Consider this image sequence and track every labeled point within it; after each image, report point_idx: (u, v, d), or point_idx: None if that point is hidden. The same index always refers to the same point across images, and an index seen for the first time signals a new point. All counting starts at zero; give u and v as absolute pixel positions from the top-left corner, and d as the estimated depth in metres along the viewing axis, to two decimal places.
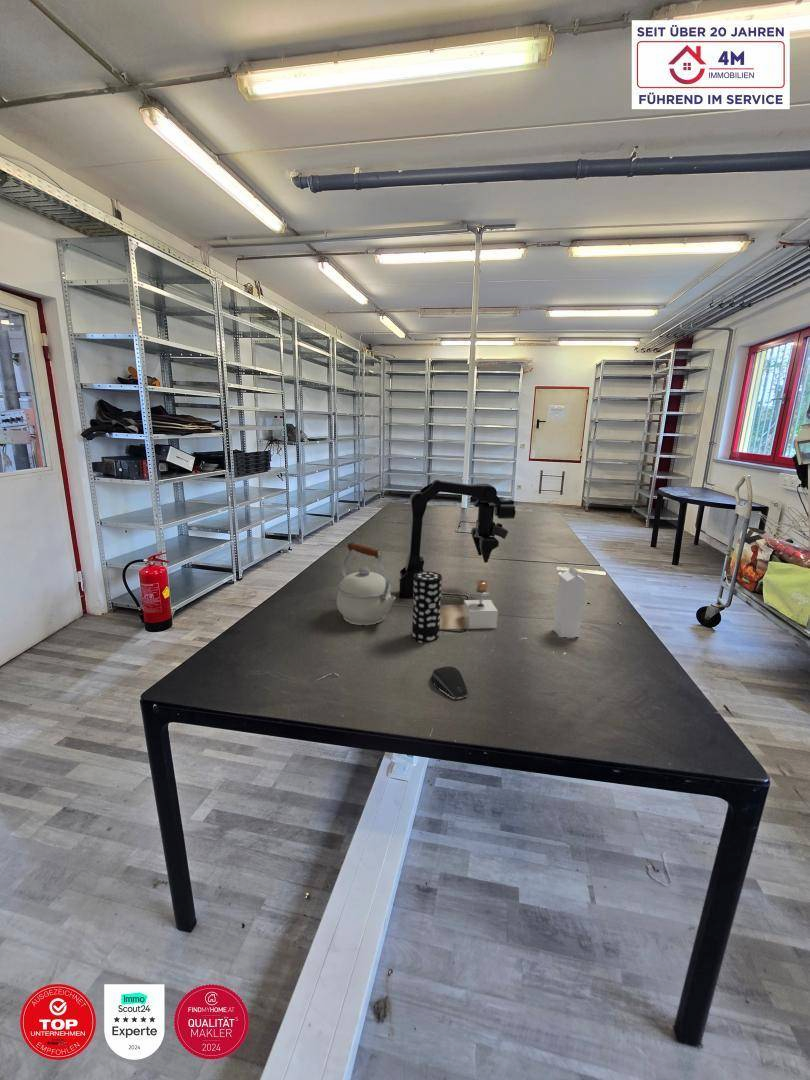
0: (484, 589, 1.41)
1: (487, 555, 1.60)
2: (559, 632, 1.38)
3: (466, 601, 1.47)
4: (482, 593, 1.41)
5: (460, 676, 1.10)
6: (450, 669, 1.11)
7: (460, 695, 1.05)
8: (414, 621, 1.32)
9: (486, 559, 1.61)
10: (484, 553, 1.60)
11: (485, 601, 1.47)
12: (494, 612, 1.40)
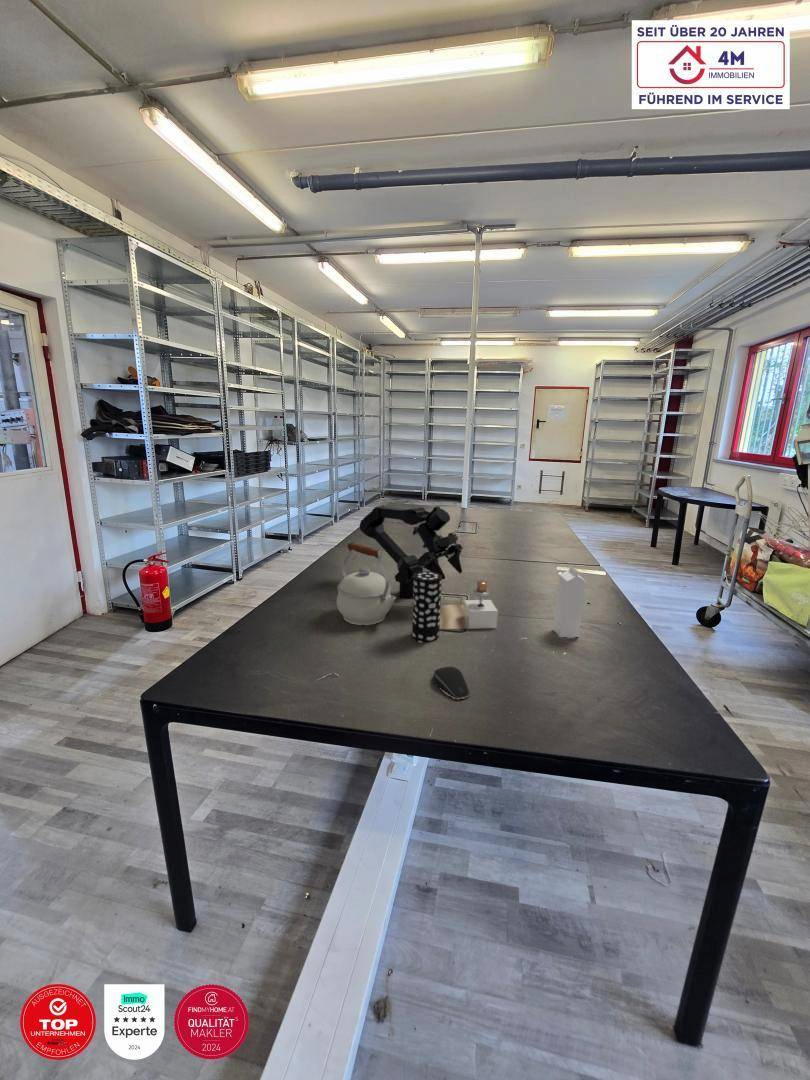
0: (484, 589, 1.41)
1: (438, 571, 1.48)
2: (559, 632, 1.38)
3: (466, 601, 1.47)
4: (482, 593, 1.41)
5: (461, 676, 1.10)
6: (451, 669, 1.11)
7: (461, 695, 1.05)
8: (414, 621, 1.32)
9: None
10: (434, 570, 1.49)
11: (485, 601, 1.47)
12: (494, 612, 1.40)
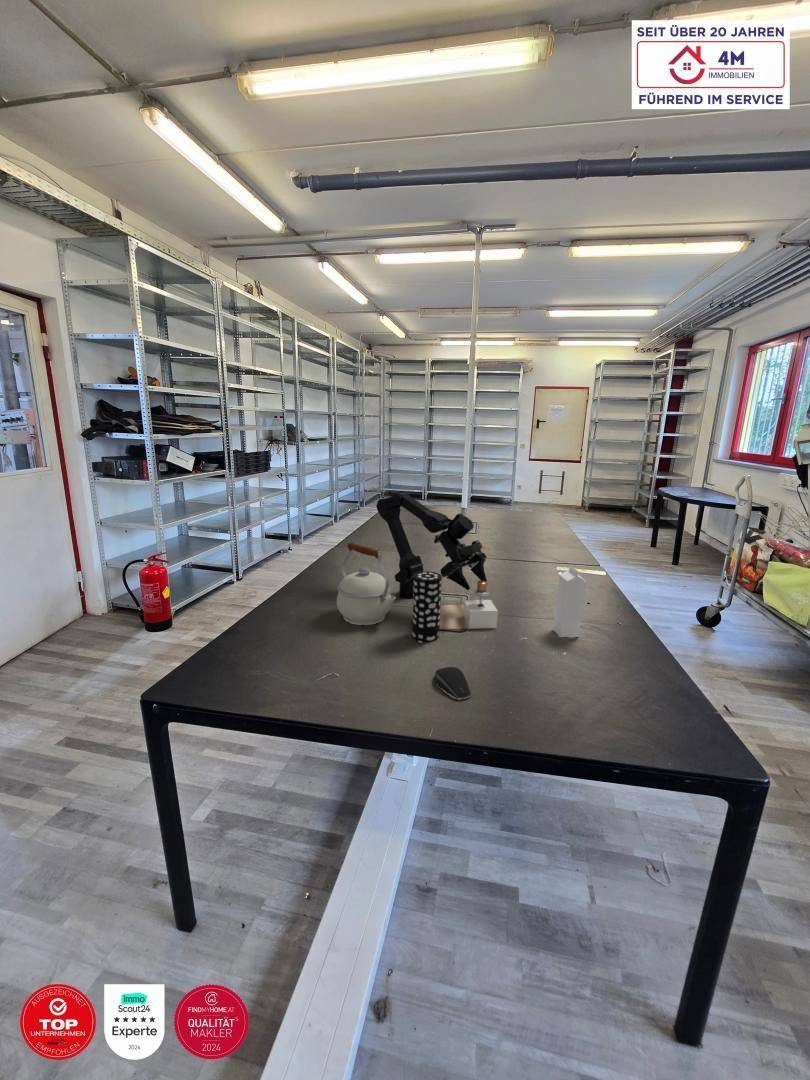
0: (484, 589, 1.41)
1: (462, 581, 1.41)
2: (559, 632, 1.38)
3: (466, 601, 1.47)
4: (482, 593, 1.41)
5: (463, 677, 1.10)
6: (452, 670, 1.11)
7: (463, 696, 1.05)
8: (414, 621, 1.32)
9: (465, 586, 1.41)
10: (458, 581, 1.41)
11: (485, 601, 1.47)
12: (494, 612, 1.40)
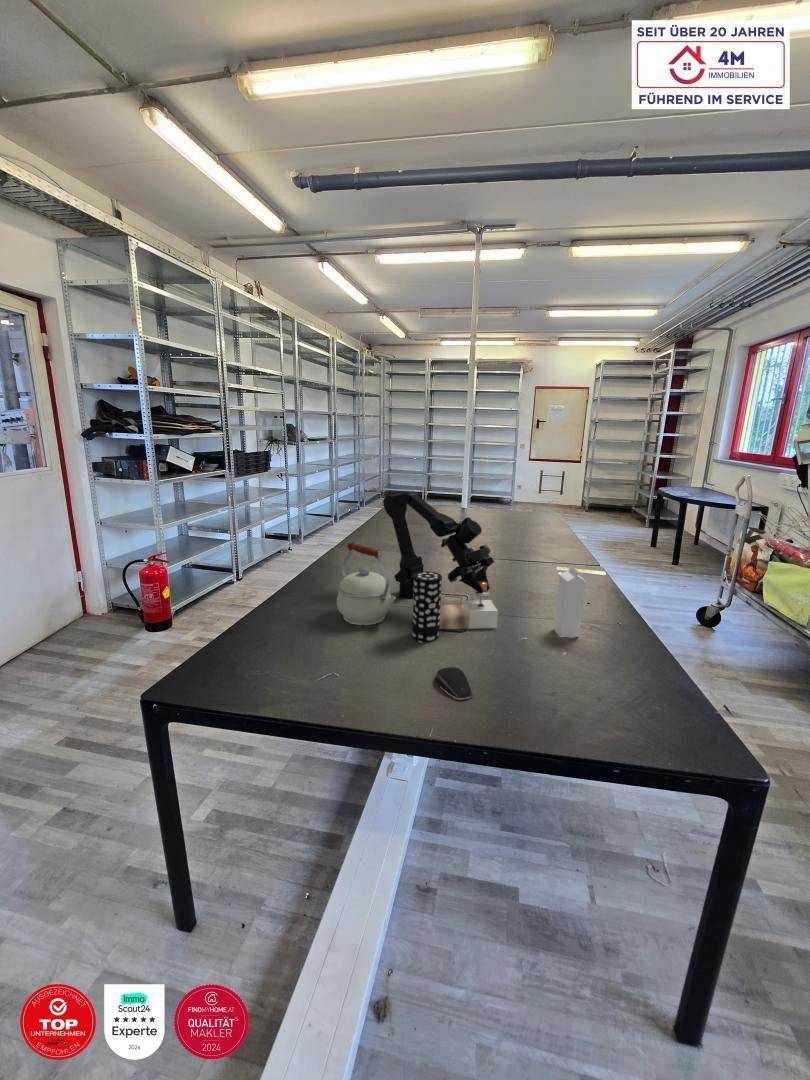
0: (484, 589, 1.41)
1: (475, 585, 1.41)
2: (559, 632, 1.38)
3: (466, 601, 1.47)
4: (482, 593, 1.41)
5: (464, 677, 1.10)
6: (454, 670, 1.11)
7: (464, 696, 1.05)
8: (414, 621, 1.32)
9: (478, 589, 1.41)
10: (471, 584, 1.42)
11: (485, 601, 1.47)
12: (494, 612, 1.40)
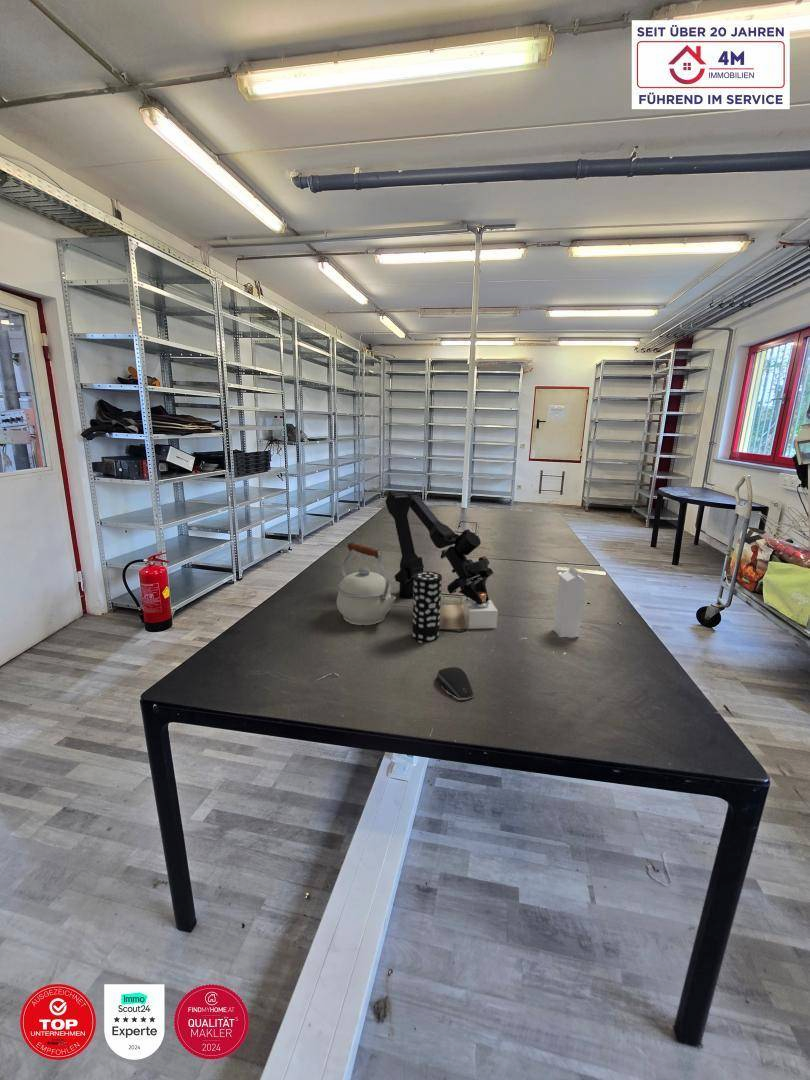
0: (483, 600, 1.42)
1: (474, 596, 1.42)
2: (559, 632, 1.38)
3: (466, 601, 1.47)
4: (481, 604, 1.42)
5: (465, 677, 1.09)
6: (455, 670, 1.11)
7: (465, 696, 1.05)
8: (414, 621, 1.32)
9: (478, 600, 1.42)
10: (470, 595, 1.43)
11: None
12: (494, 612, 1.40)
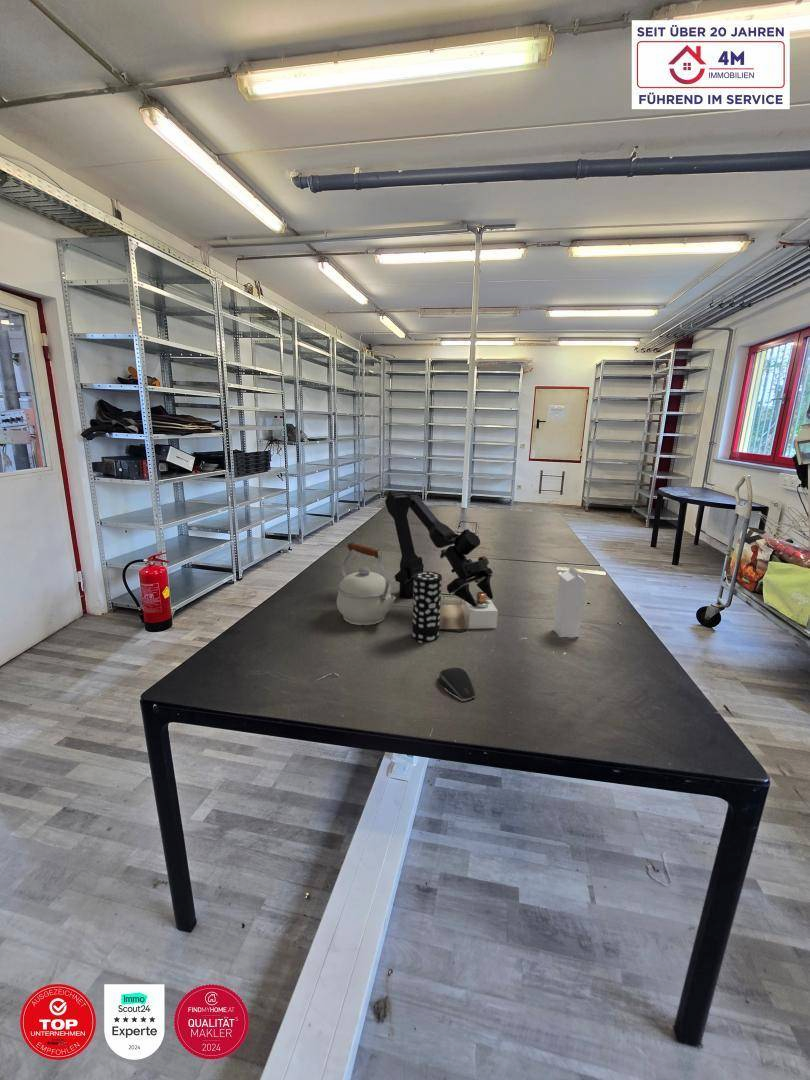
0: (483, 600, 1.42)
1: (468, 598, 1.40)
2: (559, 632, 1.38)
3: None
4: (481, 604, 1.42)
5: (467, 677, 1.09)
6: (457, 670, 1.11)
7: (467, 697, 1.05)
8: (414, 621, 1.32)
9: (472, 602, 1.40)
10: (464, 597, 1.41)
11: None
12: (494, 612, 1.40)
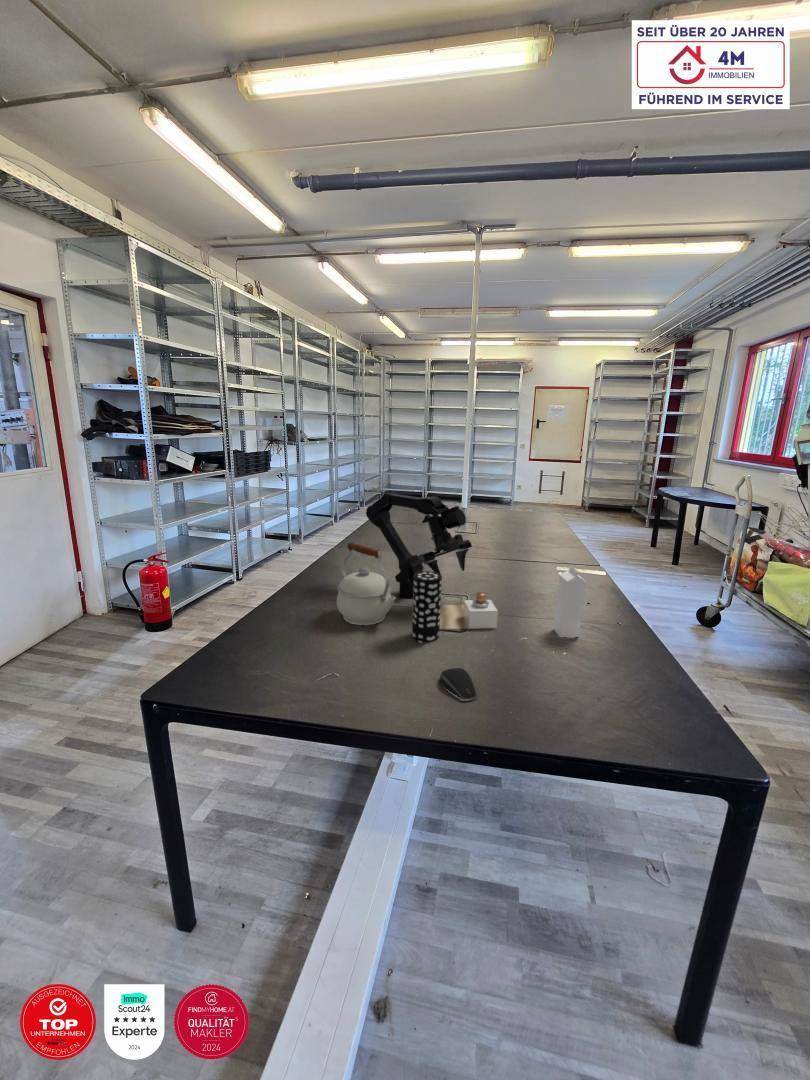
0: (483, 600, 1.42)
1: (435, 571, 1.52)
2: (559, 632, 1.38)
3: (466, 601, 1.47)
4: (481, 604, 1.42)
5: (469, 678, 1.09)
6: (458, 671, 1.11)
7: (469, 697, 1.05)
8: (414, 621, 1.32)
9: None
10: (433, 568, 1.53)
11: None
12: (494, 612, 1.40)
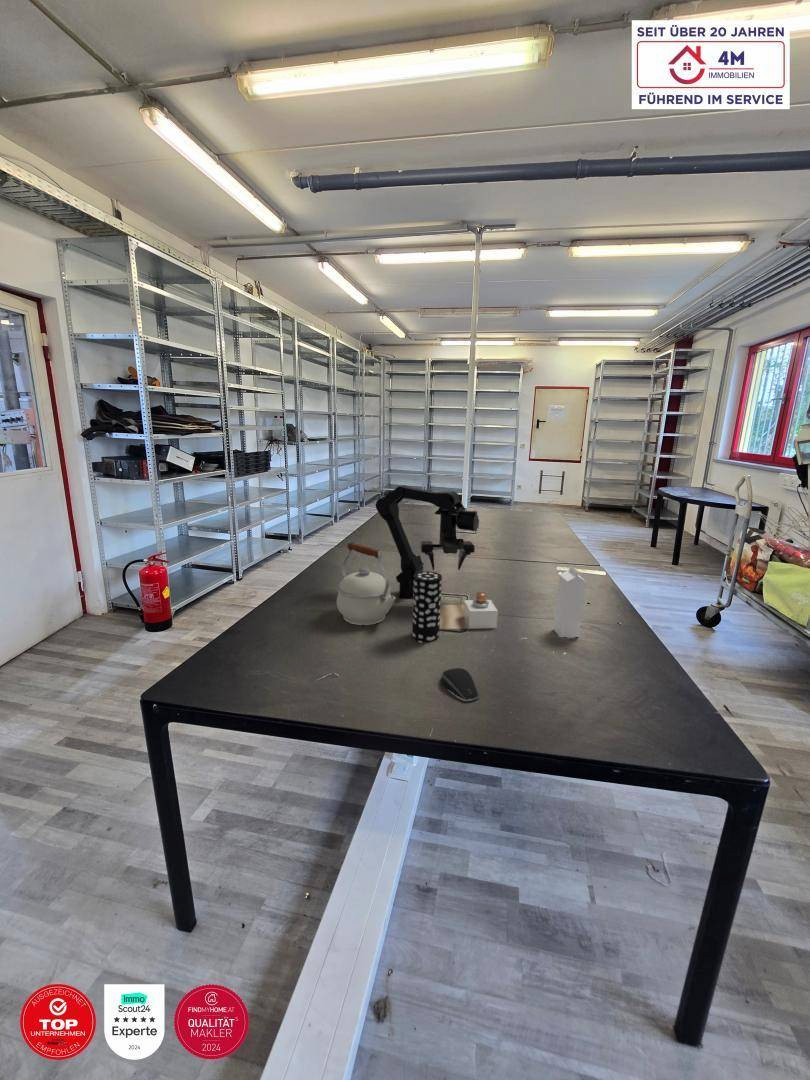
0: (483, 600, 1.42)
1: (430, 561, 1.57)
2: (559, 632, 1.38)
3: (466, 601, 1.47)
4: (481, 604, 1.42)
5: (470, 678, 1.09)
6: (460, 671, 1.11)
7: (470, 697, 1.04)
8: (414, 621, 1.32)
9: None
10: None
11: None
12: (494, 612, 1.40)
